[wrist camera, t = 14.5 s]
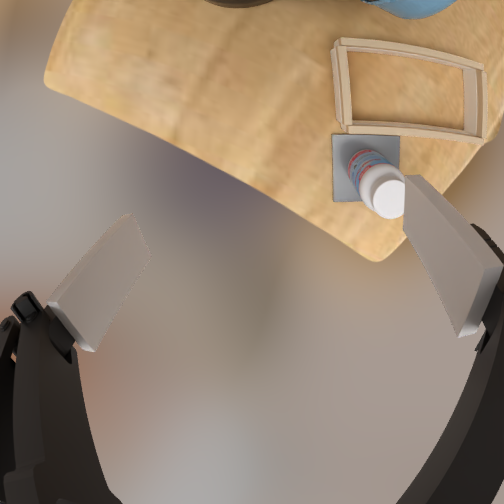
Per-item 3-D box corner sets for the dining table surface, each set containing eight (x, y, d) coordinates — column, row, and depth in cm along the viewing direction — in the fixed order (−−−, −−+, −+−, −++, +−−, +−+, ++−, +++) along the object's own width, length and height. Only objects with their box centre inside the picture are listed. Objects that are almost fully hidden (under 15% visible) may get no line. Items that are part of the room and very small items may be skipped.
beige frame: (329, 42, 28) (335, 36, 23) (467, 63, 24) (486, 64, 20) (336, 128, 34) (343, 134, 30) (468, 138, 31) (486, 146, 26)
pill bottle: (361, 140, 34) (387, 161, 25) (394, 163, 35) (426, 192, 26) (338, 174, 37) (355, 207, 28) (371, 196, 38) (395, 234, 29)
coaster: (331, 134, 35) (332, 134, 34) (398, 135, 33) (399, 136, 33) (333, 200, 40) (333, 201, 40) (394, 199, 39) (396, 201, 38)
